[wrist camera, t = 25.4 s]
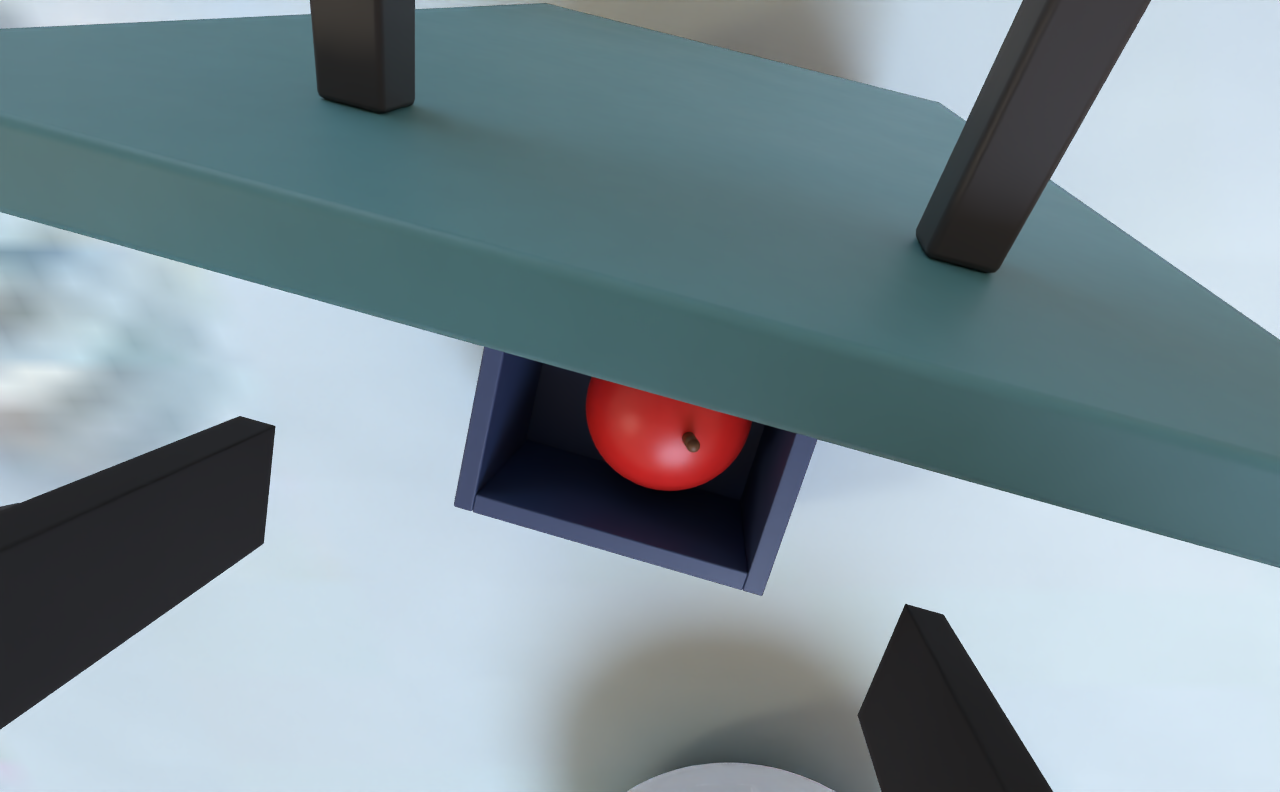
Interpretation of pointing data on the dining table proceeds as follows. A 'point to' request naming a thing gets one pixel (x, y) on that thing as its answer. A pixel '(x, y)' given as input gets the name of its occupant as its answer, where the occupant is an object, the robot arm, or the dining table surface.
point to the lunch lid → (684, 230)
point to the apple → (661, 436)
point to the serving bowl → (729, 780)
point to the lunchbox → (621, 481)
